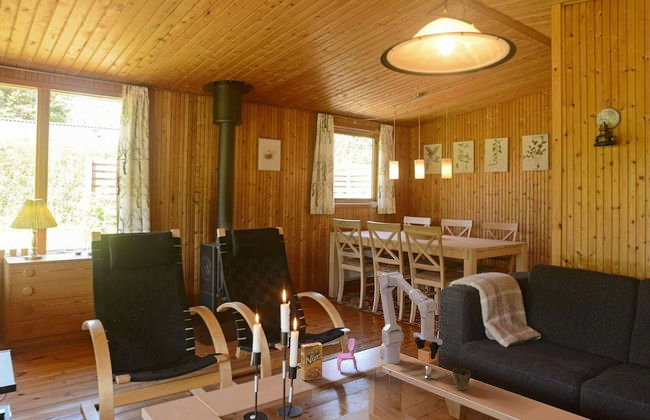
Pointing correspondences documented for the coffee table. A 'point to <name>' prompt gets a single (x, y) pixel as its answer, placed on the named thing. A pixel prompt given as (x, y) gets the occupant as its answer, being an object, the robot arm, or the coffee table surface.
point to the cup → (461, 378)
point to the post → (428, 373)
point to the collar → (425, 355)
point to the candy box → (311, 361)
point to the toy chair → (348, 355)
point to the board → (420, 372)
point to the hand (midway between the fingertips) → (427, 356)
